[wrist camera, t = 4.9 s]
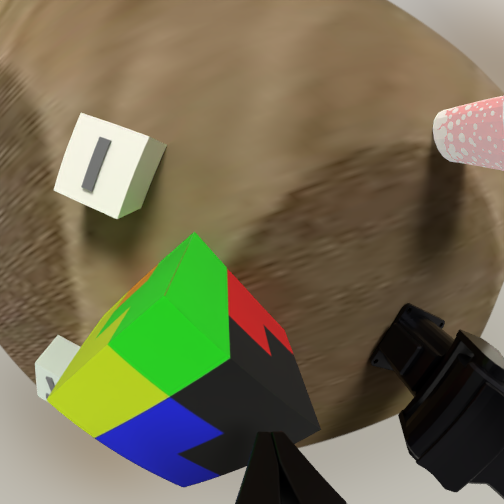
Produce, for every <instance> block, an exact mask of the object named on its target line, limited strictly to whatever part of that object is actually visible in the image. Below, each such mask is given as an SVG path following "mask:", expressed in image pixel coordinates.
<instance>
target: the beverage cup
mask: <svg viewBox="0 0 504 504" xmlns="http://www.w3.org/2000/svg"><path fill="white" fill-rule="evenodd" d="M433 134H434V140H435V143H436V146H437V148H438V150H439V152H440V153H441V154H442V156H443V157H444V158H446V159H447V160H449V161H450V162H457V163H464V164H470V165H476V166H482V167H487V168H492V169H497V170H502V171H504V96H500V97H495V98H491V99H486V100H482V101H478V102H474V103H470V104H466V105H462V106H458V107H454V108H450V109H447V110H443V111H441V112H439V113H438V114H437V116H436V117H435V119H434V124H433Z"/></svg>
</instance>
